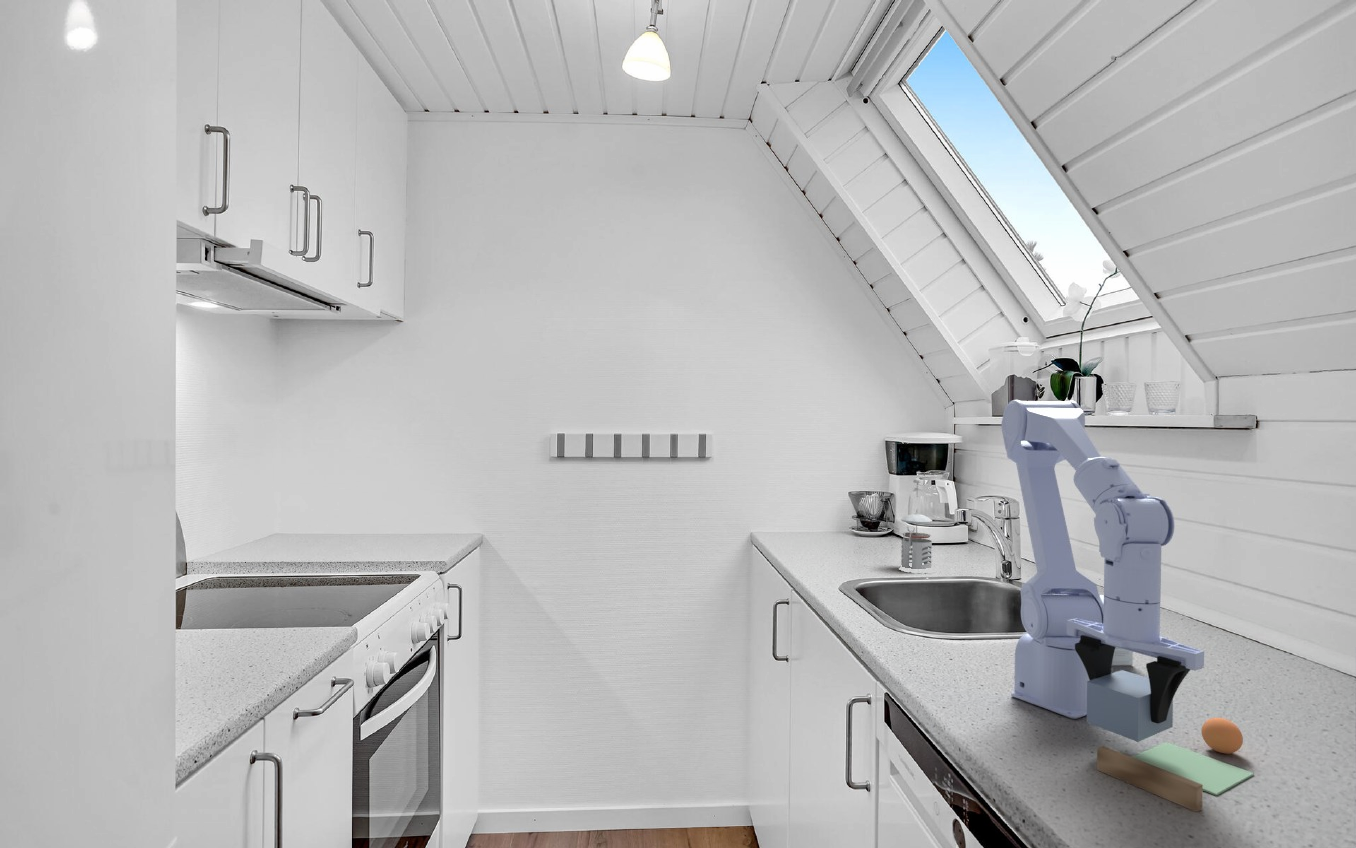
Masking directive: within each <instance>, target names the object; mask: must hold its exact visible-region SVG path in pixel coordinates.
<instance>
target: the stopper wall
mask: <svg viewBox="0 0 1356 848" xmlns="http://www.w3.org/2000/svg"><path fill="white" fill-rule="evenodd" d="M1096 750H1097V755H1096V756H1097V758H1096V759H1097V761H1096V764H1097V766H1096V770H1097V771H1099V772H1102V773H1104V774H1106V775H1109V776H1111V777H1113V778H1115V779H1118V780H1119V781H1122V782H1125V783H1127V784H1130V785H1132V786H1134V787H1137V788H1139V789H1142V790H1143V791H1146V792H1149V793H1151V794H1154V795H1155V796H1159V797H1160V798H1163V799H1164V800H1167V801H1170V802H1172V803H1175V804H1177V805H1179V806H1182V807H1184V808H1187V809H1189V810H1191V811H1193V812H1196V813H1198V812H1199V811H1202V810H1203V785H1202V784H1200V783H1197V782H1194V781H1192V780H1189V779H1187V778H1184V777H1182V776H1179V775H1177V774H1174V773H1171V772H1169V771H1166V770H1164V769H1161V768H1159V767H1156V766H1154V765H1151V764H1148V763H1146V762H1143V761H1141V760H1138V759H1136V758H1133V756H1130V755H1127V754H1125V753H1122V752H1120V751H1118V750H1116V749H1112V748H1110V747H1107V746H1105V745H1101V746H1099V747H1097V749H1096Z"/></svg>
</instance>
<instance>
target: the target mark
mask: <svg viewBox="0 0 1356 848" xmlns="http://www.w3.org/2000/svg"><path fill="white" fill-rule="evenodd" d="M1132 757H1133V758H1136V759H1138V760H1141V761H1143V762H1146V763H1148V764H1151V765H1154V766H1156V767H1159V768H1161V769H1164V770H1166V771H1169V772H1171V773H1174V774H1177V775H1179V776H1182V777H1184V778H1187V779H1189V780H1192V781H1194V782H1197V783H1200V784H1202V785H1203V791H1204V792H1206V793H1209V794H1211V795H1214V796H1219V795H1220V794H1222V793H1223V792H1226V791H1228V790H1229V789H1231V788H1233V787H1234V786H1236V785H1238V784H1240V783H1242V782H1244V781H1245V780H1247V779H1249V778H1251V777H1253V776H1254V775H1255V773H1253V772H1251V771H1249V770H1246V769H1243V768H1240V767H1237V766H1234V765H1231V764H1228V763H1226V762H1223V761H1220V760H1219V759H1215V758H1212V757H1209V756H1206V755H1204V754H1201V753H1199V752H1195V751H1193V750H1191V749H1187V748H1185V747H1181V746H1179V745H1176V744H1173V743H1170V742H1167V741H1165V742H1162V743H1160V744H1158V745H1156V746H1154V747H1151V748H1149V749H1147V750H1145V751H1142V752H1139V753H1137V754H1135V755H1133V756H1132ZM1203 791H1202V792H1203Z"/></svg>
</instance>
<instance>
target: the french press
mask: <svg viewBox="0 0 1356 848" xmlns="http://www.w3.org/2000/svg"><path fill="white" fill-rule="evenodd" d="M913 483H914V484H915V483H916V496H918V493H919V492H918V489H919V488H918V483H919V484H920V483H922V481H921V479H920V478H919V477H917V478H914V479H913ZM900 520H901V522H903V523H910V524H916V527H915V526H913V527H912V528H911V529H910V530H909V526H908V525H907V526H906V527H905V529H904V532H903V533H902V535H903V538H901V552H900V553H901V562H900V563H901V565H902V567H905V568H911V569H926V568H932V561H933V560H932V553H933V552H932V548H933V547H932V544H933V541H932V540H930V539H928V538H931V534H928V533H925V532H923V533H922V532H918V524H930V523H932V522H933V520H932V519H931V518H930V517H928V516H927V515H926V516H925V515H924V514H920V513H918V510H916V512H915V513H911V514H908V515H905V516H903V517H902V518H901V519H900ZM915 528H916V530H915ZM907 531H908V532H907ZM915 531H916V532H915ZM910 556H911V557H910ZM909 563H912V567H910V566H909ZM922 563H924V565H922ZM901 565H900V566H901Z"/></svg>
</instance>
